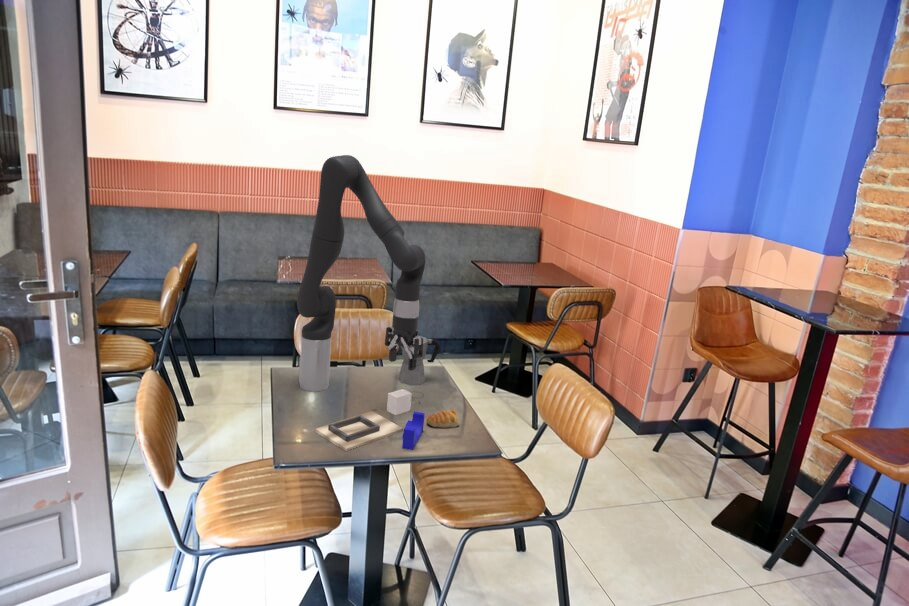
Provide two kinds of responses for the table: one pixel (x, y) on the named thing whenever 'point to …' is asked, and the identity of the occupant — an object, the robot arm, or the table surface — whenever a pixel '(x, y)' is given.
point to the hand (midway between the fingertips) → (402, 365)
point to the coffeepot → (418, 373)
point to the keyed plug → (399, 402)
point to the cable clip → (413, 431)
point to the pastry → (444, 419)
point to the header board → (358, 430)
